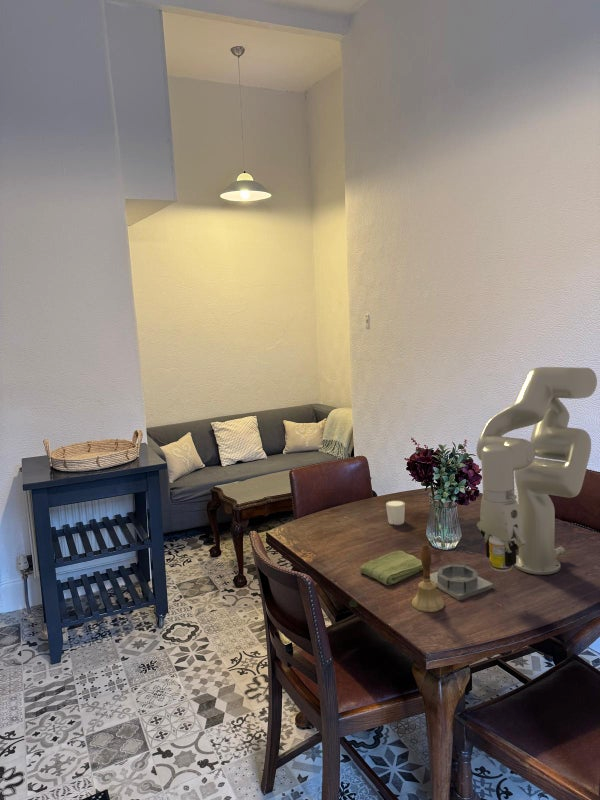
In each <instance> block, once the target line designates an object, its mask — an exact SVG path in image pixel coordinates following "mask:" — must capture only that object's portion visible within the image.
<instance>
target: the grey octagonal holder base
mask: <svg viewBox="0 0 600 800" xmlns="http://www.w3.org/2000/svg"><path fill="white" fill-rule="evenodd" d="M430 581H432V582H434V583H435V584H436V588H437V590H440V591H442V592H444V593H445V594H447V595H448V596H451V597H452V598H454V599H456V600H457V601H462V600H464V599H467V598H469V597H472V596H475V595H478V594H481V593H483V592H487V591H489V590H492V589H494V583H492V582H490V581H489V580H487V579H484V578H482V577H480V576H479V573H478V571H477V570H476V569H474V568H473V567H470V566H468V565H465V564H447V565H443V566H440V567H439V568H438V569H437V571H435V572H432V573H430Z"/></svg>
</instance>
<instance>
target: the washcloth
mask: <svg viewBox="0 0 600 800" xmlns="http://www.w3.org/2000/svg"><path fill="white" fill-rule="evenodd" d="M359 571H360V573H361V574H363V575H366V576H368V578H372V579H374V580H376V581H377V582H379V583H381V584H384V586H391V585H395V584H396V583H399V582H401V581H403V580H405V579H407V578H409V577H412V575H415V574H417V573H419V572H421V571H423V565H422V562H421V559H419V558H418V557H416V556H415V555H413V554H408V553H406V552H405V551H403V550H397V551H391V552H388V553H387V554H384V555H381V556H380V557H378V558H375V559H371V560H369V561H368V562H364V563H363V564H362V565H361V566H360V568H359Z"/></svg>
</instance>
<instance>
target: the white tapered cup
mask: <svg viewBox="0 0 600 800" xmlns="http://www.w3.org/2000/svg"><path fill="white" fill-rule="evenodd" d="M385 507H386V513H387V520H388V521H387V522H389V524H390V525H393V524H394V525H395V526H400V525H403V524H404V523H405V511H406V509H405V508H406V502H404V501H402V500H389V501H387V502H386V503H385Z"/></svg>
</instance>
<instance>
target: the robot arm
mask: <svg viewBox="0 0 600 800" xmlns="http://www.w3.org/2000/svg"><path fill="white" fill-rule="evenodd" d="M597 377H598V376H597V375H596V373H595V371H594V370H593V369H592V368H590V367H572V366H571V367H568V366H566V367H564V366H563V367H562V366H561V367H560V366H553V367H552V366H540V367H539V366H538V367H535V368H532V369H531V370H529V372H528V373H527V375H526V377H525V379H524V380H523V383H522V385H521V387H520V390H519V392H518V394H517V396H516V398H515V399H514V402H513V404H512V405H510V406H508V407H506V408H505V409H503V410H501V411H499V413H497V414H496V415H494V416H493V417H492V418H490V419H489V420H488V422H487V423H486V424H485V426H484V428H483V430H482V432H481V433H480V436H479V438H478V441H477V444H476V450H475V451H476V455H477V458H478V460H479V461H481V476H482V477H481V480H482V497H481V500H480V508H479V509H480V513H479V517H480V520H479V521H477V523H476V527H477V528H478V529H479V531H480V534H481V535H482V537H483V542H484V543H485V548H486V549H485V553H486V557H487V558H488V559H490V553H489V537H490V536H491V535H492V536H495V537H496V538H499V539H501V540H503V541H504V543H505V546H506V550H507V551H506V552H505V565H506V567H510V566H512V565H513V567H515V568H516V569H518V570H519V571H520V572H521V571H522V572H524V573H528V574H531V575H532V574H533V575H542V576H543V575H545V576H547V575H552V574H556V573H558V572H559V571H560V570H561V562H560V561H559V560H558V559H557V557H559V555H563V554H565V553H566V550H565V548H564V547H563V546H559V547H556V548H555V539H556V537H555V535H556V534H555V531H556V529H555V522H556V519H555V515H556V514H555V506H554V503H553V501H552V499H551V497H550V495H551V496H557V497H562V498H574V497H577V496H578V495H579V494H580V492H581V490H582V487H583V484H584V480H585V475H586V473H587V472H586V471H587V468H588V464H589V460H590V456H591V450H592V439H591V436H590V434H589V433H588V431H586V430H584V429H582V428H577V427H568V425H569V422H570V418H571V417H570V412H569V411H568V409H567V407H566V406H565V404H564V403H563V401H561V399H570V400H571V399H574V400H576V399H577V400H578V399H579V400H580V399H586V398H589V397H591V396H592V395H593V394H594V393H595V391H596V389H597V385H598V378H597ZM533 425H534V426H533ZM530 426H533V429H532V433H531V437H530V440H527V439H525V438H516V437H509V436H504V435H506V434H507V433H509V432H512V431H514V430H518V429H524V428H526V427H530ZM515 487H516V491H517V494H515ZM516 499H518V500H516ZM509 542H511V543H512V546H510V543H509ZM517 551H518V554H517Z"/></svg>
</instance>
